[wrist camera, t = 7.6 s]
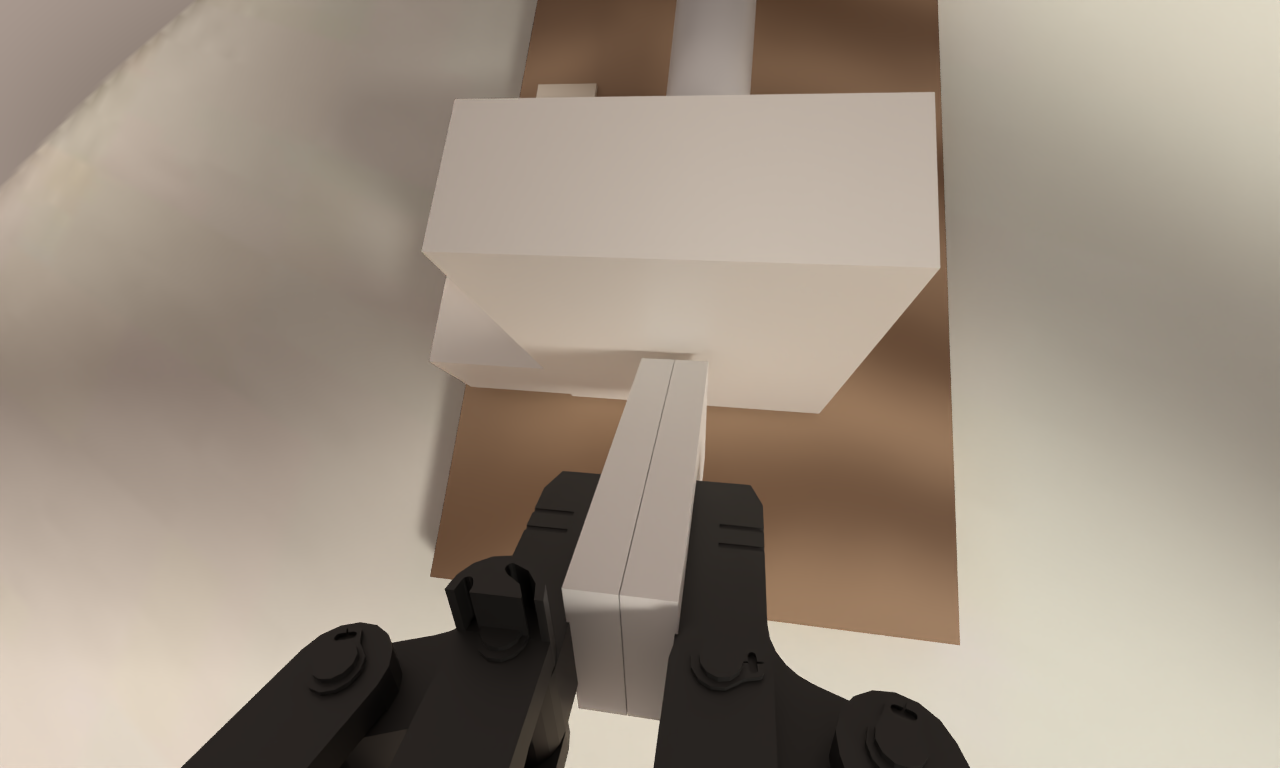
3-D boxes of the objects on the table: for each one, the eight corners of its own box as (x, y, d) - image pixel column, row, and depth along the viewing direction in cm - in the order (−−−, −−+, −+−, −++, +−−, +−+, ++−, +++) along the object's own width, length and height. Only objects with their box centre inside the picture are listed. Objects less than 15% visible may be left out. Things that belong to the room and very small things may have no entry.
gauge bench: (939, 635, 17) (1339, 819, 6) (451, 573, 20) (109, 622, 9) (918, -152, 25) (1073, -683, 14) (575, -124, 28) (481, -559, 17)
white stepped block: (819, 413, 18) (940, 267, 8) (474, 388, 19) (235, 245, 10) (827, 82, 21) (922, -310, 11) (529, 87, 22) (388, -247, 13)
